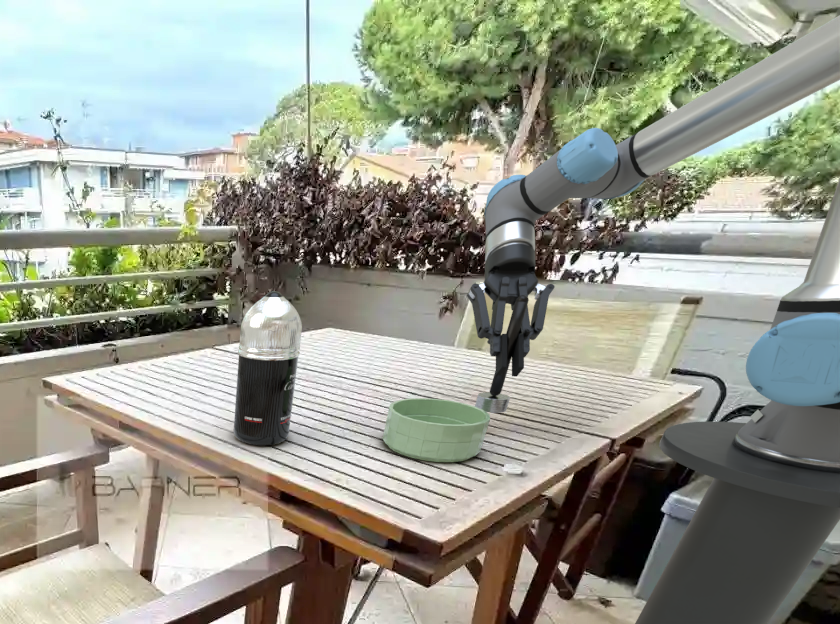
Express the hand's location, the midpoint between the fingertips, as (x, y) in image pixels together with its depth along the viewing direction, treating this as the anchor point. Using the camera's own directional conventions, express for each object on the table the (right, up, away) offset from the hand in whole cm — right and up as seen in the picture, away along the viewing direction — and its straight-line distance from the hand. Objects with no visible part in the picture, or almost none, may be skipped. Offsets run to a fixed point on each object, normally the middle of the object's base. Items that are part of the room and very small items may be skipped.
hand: (509, 371), depth 92 cm
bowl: (-12, -12, +3) cm, 18 cm away
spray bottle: (-41, -10, +8) cm, 43 cm away
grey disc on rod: (+1, -5, +7) cm, 8 cm away
